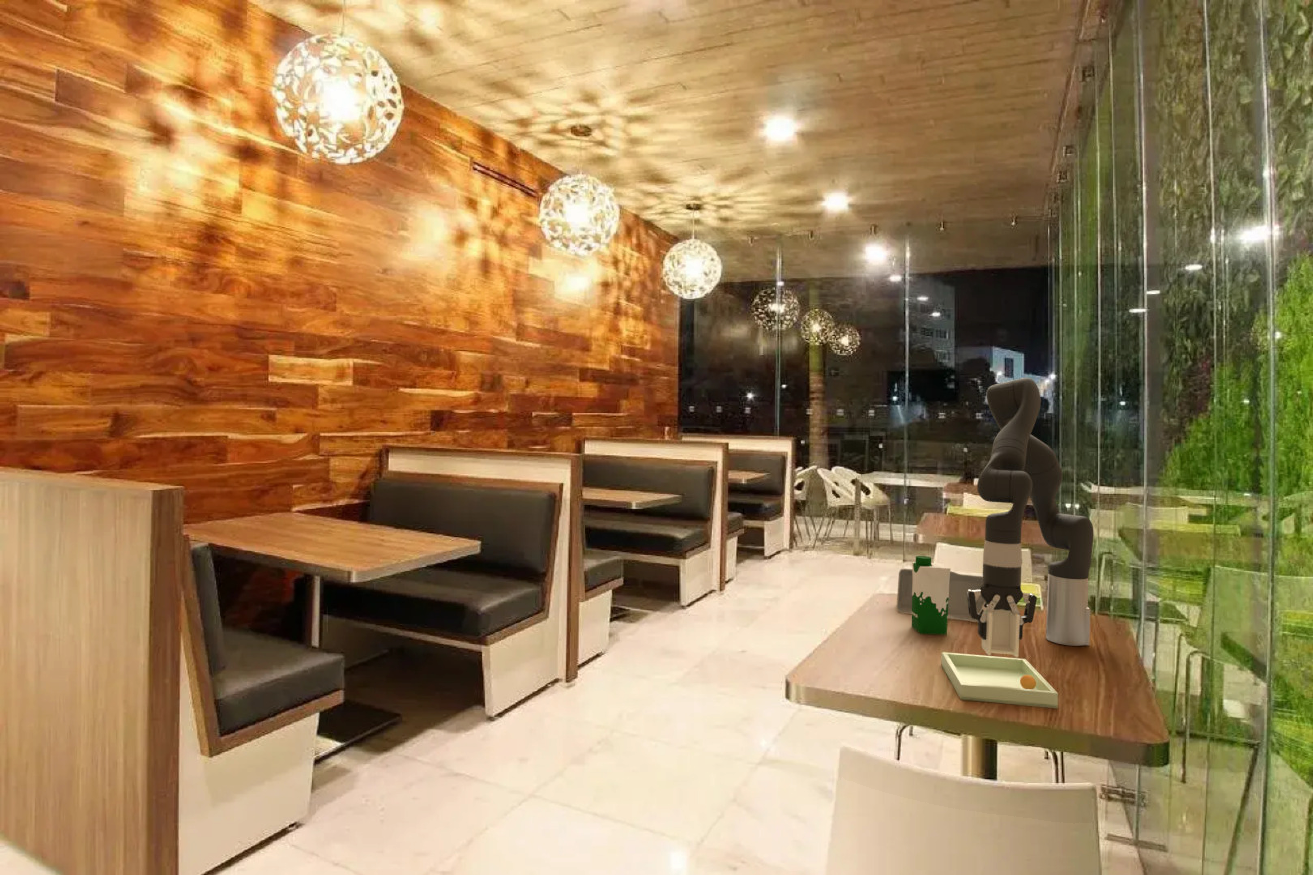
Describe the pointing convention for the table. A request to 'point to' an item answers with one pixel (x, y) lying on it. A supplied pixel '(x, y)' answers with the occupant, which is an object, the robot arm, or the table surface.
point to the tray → (997, 680)
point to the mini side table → (1002, 633)
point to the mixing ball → (1027, 682)
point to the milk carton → (930, 596)
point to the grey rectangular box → (957, 593)
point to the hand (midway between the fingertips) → (999, 639)
